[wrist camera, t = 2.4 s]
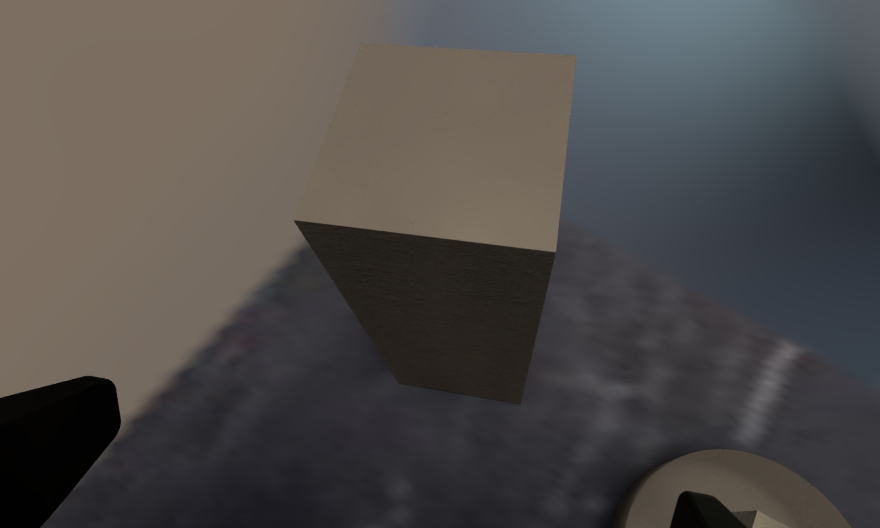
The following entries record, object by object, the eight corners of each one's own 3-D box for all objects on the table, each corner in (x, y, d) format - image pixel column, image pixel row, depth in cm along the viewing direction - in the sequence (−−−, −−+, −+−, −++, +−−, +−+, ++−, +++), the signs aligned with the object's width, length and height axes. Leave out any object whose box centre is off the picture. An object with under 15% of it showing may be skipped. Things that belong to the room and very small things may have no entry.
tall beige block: (520, 404, 20) (555, 252, 9) (398, 383, 21) (293, 220, 10) (534, 290, 22) (576, 55, 11) (423, 275, 23) (360, 43, 12)
